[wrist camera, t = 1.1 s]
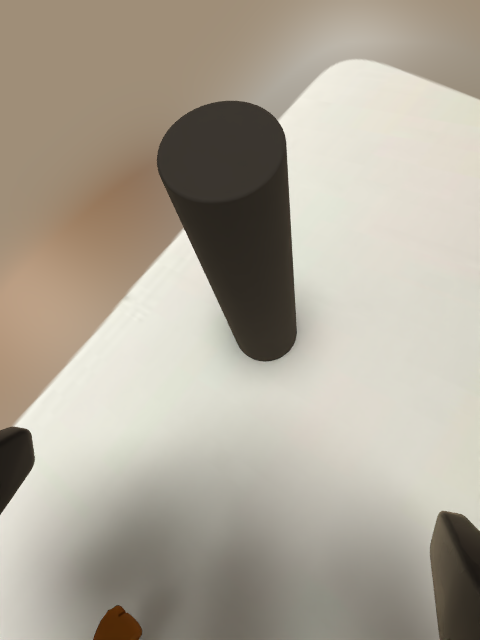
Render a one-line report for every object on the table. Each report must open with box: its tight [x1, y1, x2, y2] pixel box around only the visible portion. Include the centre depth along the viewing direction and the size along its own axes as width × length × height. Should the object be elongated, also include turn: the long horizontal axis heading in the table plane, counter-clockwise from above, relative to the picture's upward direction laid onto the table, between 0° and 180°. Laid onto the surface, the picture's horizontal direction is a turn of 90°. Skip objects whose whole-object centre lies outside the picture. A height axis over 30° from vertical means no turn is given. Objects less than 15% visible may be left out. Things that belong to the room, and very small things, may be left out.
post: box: [157, 101, 297, 361], centre depth 17 cm, size 4×4×14 cm
